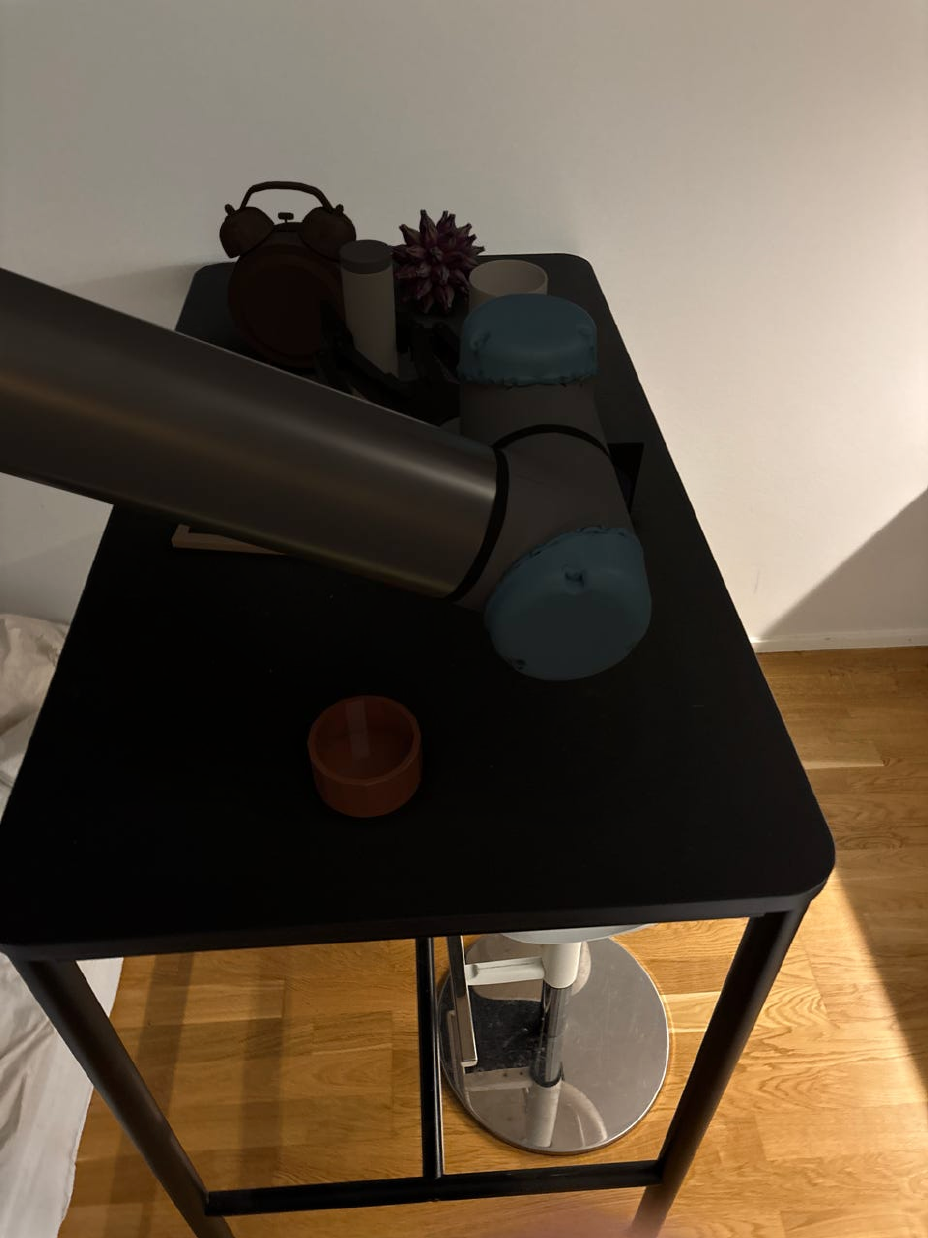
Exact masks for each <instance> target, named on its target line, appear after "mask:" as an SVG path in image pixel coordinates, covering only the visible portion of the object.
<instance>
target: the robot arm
mask: <svg viewBox="0 0 928 1238" xmlns="http://www.w3.org/2000/svg"><path fill="white" fill-rule="evenodd" d="M319 308H320V316H321V325H322V328H321V341H322V348H321V349H316V350H314V352H313V356H314V364H315V367H314V373H315V379H316V380H315V381H314V380H312V379H308V378H306V377H303V376H300V375H297V374H295V373H291V372H289V371H287V370H284V369H280V368H279V367H276V366H272V365H271V366H270V365H267V364H265V363H266V362H262V361H259V360H256V359H254V358H251V357H249V356H246V355H243V354H240V353H237V352H235V351H232V350H229V349H226V348H224V347H220V346H218V345H215V344H212V343H210V342H206V341H204V340H201V339H199V338H196V337H193V336H191V335H188V334H186V333H182V332H180V331H177V330H175V329H171V328H169V327H167V326H163V325H160V324H158V323H155V322H152V321H151V320H148V319H144V318H142V317H139V316H136V315H133V314H130V313H127V312H125V311H123V310H119V309H116V308H114V307H111V306H109V305H107V304H106V305H105V304H103V303H101V302H98V301H95V300H92V299H89V298H87V297H84V296H82V295H78V294H76V293H73V292H70V291H68V290H65V289H62V288H59V287H57V286H54V285H51V284H48V283H46V282H42V281H40V280H37V279H34V278H31V277H29V276H26V275H24V274H22V273H18V272H16V271H13V270H10V269H7V268H5V267H2V266H0V473H1V474H4V475H8V476H11V477H15V478H18V479H22V480H25V481H29V482H32V483H36V484H40V485H43V486H46V487H50V488H53V489H57V490H60V491H64V492H68V493H71V494H74V495H78V496H81V497H83V498H88V499H92V500H94V501H97V502H102V503H105V504H109V505H112V506H116V507H118V508H122V509H126V510H130V511H133V512H136V513H140V514H144V515H147V516H150V517H153V518H157V519H161V520H164V521H168V522H171V523H175V524H178V525H179V524H181V525H185V526H188V527H192V528H195V529H199V530H202V531H205V532H209V533H212V534H216V535H219V536H223V537H226V538H230V539H233V540H237V541H240V542H244V543H247V544H251V545H254V546H257V547H261V548H264V549H268V550H271V551H275V552H278V553H282V554H285V555H284V556H288V557H293V558H296V559H299V560H303V561H307V562H310V563H314V564H317V565H320V566H323V567H327V568H330V569H333V570H337V571H340V572H344V573H347V574H352V575H355V576H359V577H362V578H366V579H369V580H372V581H376V582H379V583H383V584H386V585H390V586H393V587H397V588H400V589H403V590H407V591H411V592H414V593H417V594H421V595H424V596H428V597H431V598H434V599H437V600H440V601H444V602H447V603H450V604H453V605H456V606H459V607H463V608H466V609H469V610H473V611H476V612H480V613H482V614H483V625H484V628H485V629H487V630H488V634H489V635H490V639H491V642H492V645H493V647H494V650H495V652H496V653H497V654H498V655H499V656H500V657H501V658H502V659H503V660H504V661H505V662H506V663H508V664H509V665H511V666H512V667H513V669H514V670H515V671H518V672H519V673H521V674H522V675H525V676H528V677H530V678H535V679H539V680H544V681H552V682H553V681H573V680H579V679H583V678H584V679H585V678H587V677H588V678H589V677H591V676H594V675H597V674H600V673H602V672H604V671H606V670H608V669H610V668H612V667H614V666H615V665H617V664H618V663H620V662H621V661H623V660H624V659H625V658H626V657H627V656H628V655H629V654H630V653H631V652H632V651H633V649H635V648H636V647H637V646H638V644H639V643H640V641H641V640H642V639H643V637H644V635H645V634H646V632H647V630H648V627H649V625H650V621H651V616H652V604H653V603H652V597H651V591H650V585H649V581H648V576H647V571H646V566H645V560H644V559H645V558H644V556H645V554H644V549H643V547H642V545H641V542H640V539H639V537H638V536H637V535H636V531H635V528H634V525H633V522H632V520H631V518H630V517H631V515H630V516H629V513H628V510H627V507H626V504H625V501H624V498H623V495H622V492H621V489H620V486H619V483H618V480H617V477H616V474H615V471H614V468H613V463H612V459H611V456H610V453H609V450H608V446H607V443H608V442H607V440H606V437H605V433H604V430H603V427H602V426H603V425H602V424H601V420H600V418H599V414H598V411H597V408H596V404H595V381H596V377H597V374H598V373H599V370H600V364H599V363H598V361H597V359H598V358H597V355H598V329H597V327H596V323H595V322H594V319H593V318H592V317H591V315H590V314H589V313H588V312H587V311H586V310H585V309H584V308H582V307H581V306H579V305H578V304H576V303H575V302H571V301H570V300H568V299H565V298H562V297H559V296H556V295H551V294H547V295H546V294H538V293H529V294H510V295H505V296H500V297H497V298H494V299H491V300H489V301H486V302H484V303H482V304H481V305H479V306H478V307H476V308H475V309H474V310H473V311H472V312H471V313H470V314H469V313H468V315H467V316H466V317H465V319H464V321H463V323H462V325H461V330H460V337H459V336H458V335H457V333H455V331H453V329H452V328H451V327H450V326H449V325H448V324H447V323H446V322H443V321H438V322H435V323H433V324H432V327H425V326H424V324H422V323H419V322H417V320H415V318H414V317H413V316H412V315H411V313H410V312H409V311H407V310H400V311H398V309H397V308H396V307H395V322H396V340H397V353H398V354H399V355H403V354H408V353H410V356H409V357H410V363H412V364H413V366H414V369H415V372H416V375H417V378H416V379H413V380H407V381H403V380H401V379H398V378H397V377H396V376H394V375H393V374H392V373H391V372H388V373H384V372H383V371H382V370H380V369H379V368H378V367H377V366H376V365H374V364H373V363H372V362H371V361H370V360H368V359H367V358H366V357H365V356H363V355H362V354H361V353H360V352H359V351H357V350H356V349H355V348H354V347H353V336H352V333H351V332H350V330H349V329H348V328H347V326H346V325H345V323H344V322H343V320H342V319H341V318H340V316H339V315H338V313H337V312H336V311H335V309H334V308H333V306H332V305H331V303H330V302H329V301H328V299H324V300H319ZM437 360H438V361H440V362H438V361H437ZM440 363H441V364H442V365H443V366H444V367H445V368H446V369H447V371H449V373H450V374H451V375H452V376H453V377H454V378H455V380H456V381H457V382H458V383H456V382H453V381H450V380H447V377H446V376H445V374H444V372H443V369H442V367H441V364H440ZM349 385H350V386H351V387H353V388H354V389H356V390H357V391H358V392H359V393H360V394H361V395H362V396H364V397H365V398H366V399H367V400H368V401H366V400H363V399H360V398H358V397H355V396H353V391H352V389H350V387H349Z"/></svg>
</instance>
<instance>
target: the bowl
mask: <svg viewBox="0 0 928 1238" xmlns="http://www.w3.org/2000/svg"><path fill="white" fill-rule="evenodd" d="M307 737H308V738H307V740H306V746H307V750H308V756H309V761H310V766H311V771H312V776H313V781H314V785H315V788H316V789H315V790H316V791H317V793H318V795H319V797H320V798H321V800H322V801H323V802H324V803H325V804H326V805H327V806H329V807H330V808H331V809H332V810H334V811H336V812H338V813H340V814H343V815H345V816H349V817H354V818H364V819H365V818H374V817H375V818H376V817H381V816H383V815H387V814H390V813H392V812H394V811H396V810H398V809H399V808H401V807H402V806H404V805H405V804H406V803H407V802H408V801H409V800H410V799H411V798H412V797H413V796H414V795H415V793H416V791H417V790H418V789H419V786H420V783H421V780H422V776H423V764H424V763H423V762H424V761H423V743H422V733H421V730H420V726H419V724H418V721H417V718H416V716H414V715H413V713H411V712H410V710H409V709H408V708H407V707H406V706H405V705H404V704H403V703H400V702H398V701H395V700H393V699H391V698H388V697H386V696H382V695H381V696H380V695H379V696H378V695H368V694H362V695H358V696H352V697H347V698H343V699H341V700H339V701H337V702H335V703H334V704H332V705H331V706H329V707H327V708H325V709H324V710H323V711H322V712H321V713H320V714H319V716H318V717H317V719H315V721H313V723H312V724H311V727H310V730H309V733H308V736H307Z"/></svg>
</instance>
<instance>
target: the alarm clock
mask: <svg viewBox="0 0 928 1238" xmlns="http://www.w3.org/2000/svg"><path fill="white" fill-rule="evenodd" d="M268 190H269V191H270V190H283V191H284V190H285V191H286V190H287V191H297V192H302V193H305V194H308V195H312V196H313V197H315V198H316V200H318V202H319V203H320V205H321V206H316V207H314V208H312V209H311V210H309V212H308V213H307V214H305V216H304V217H303V218H302V220H301V221H293V220H295V214H294V213H293V212H286V211H280V212H278V213H277V219H278V220H281V221H284V222H280V223H275V222H274V221H273V220H272V218H271V217H270V216H269V215H268V214H267V213H266V212H265V211H263V210H262V209H261V208H259V207H256V206H252V205H248V203H249V201H250V199H251V197H252V195H253V194H255V193H259V192H262V191H268ZM247 205H248V206H247ZM344 211H345V207H344V205H343V204H342V203H338V204H337V205H336V206H335V207H333V205H332V204H331V202H330V200H329V199H328V198H327V197H326V195H325V194H324V192H323V191H322V190H321V189H319V188H318V187H317V186H315V185H311V184H308V183H304V182H299V181H291V180H269V181H267V180H266V181H263V182H259V183H256V184H252V185H251V186H250V187H249V188H248V189H247V191H246V192H245V194H244V196H243V198H242V201H241V203H240V205H239V207H238V208H237V209H235V208H234V206H233V205H232V204H230V203H226V204H224V212H225V213H226V214H227V215H226V216H225V217H224V220H223V222H222V223H221V226H220V228H219V233H218V237H219V241H220V244H221V247H222V248H223V251H224V253H225V254H226V256H227V257H228V259H235V258H237V259H236V261H235V264H234V266H233V269H232V272H231V275H230V277H229V280H228V285H227V292H226V293H227V294H226V296H227V297H226V298H227V304H228V305H227V307H228V310H229V314H230V316H231V320H232V322H233V324H234V326H235V327H236V329H237V331H238V332H239V334H240V335H241V337H243V339H244V340H245V341H246V343H248V345H249V346H251V347H252V348H253V349H254V350H255V351H257V352H258V353H260V355H262V356H264V357H266V358H267V362H264V363H265V364H267V365H270V366H272V365H271V364H272V363H273V362H276V363H278V364H280V365H284V366H288V367H292V368H303V369H305V368H306V369H307V368H309V369H310V368H315V364H314V356H313V352H314V350H316V349H321V348H322V341H321V328H322V325H321V316H320V308H319V300H324V299H328V301H329V302H330V303H331V305H332V306H333V308H334V309H335V311H336V312H337V313H338V315H339V316H340V318H341V319H342V320H343V322H344V323H345V325H346V315H345V305H344V294H343V284H342V273H341V263H340V249H341V248H342V247H343V246H344V245H345V244H347V243H349V242H352V241H356V240H357V237H358V236H357V230H356V227H355V225H354V223H353V220H351V218H350V217H349V216H348V214H346V213H344Z"/></svg>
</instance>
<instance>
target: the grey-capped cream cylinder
mask: <svg viewBox="0 0 928 1238" xmlns="http://www.w3.org/2000/svg"><path fill="white" fill-rule="evenodd" d="M389 245H390V244H388V243H386V242H385V241H382V240H378V239H371V238H370V239H368V238H367V239H364V238H363V239H356V241H352V242H349V243H347V244H345V245H344V246H343V247H342V248H341V249H340V263H341V273H342V284H343V294H344V305H345V315H346V326H347V328H348V329H349V330H350V332H351V333H352V336H353V347H354V348H355V349H356V350H357V351H359V352H360V353H361V354H362V355H363V356H365V357H366V358H367V359H368V360H370V361H371V362H372V363H373V364H374V365H376V366H377V367H378V368H379V369H380V370H382V371H383V372H384V373H388V372H391V373H392V374H393V375H394V376H396V377H397V378H398V379H399V360H398V358H399V357H398V351H397V340H396V322H395V308H396V307H395V306H396V305H395V289H394V286H395V285H394V280H393V271H394V269H393V260H392V251H391V247H390V246H389ZM399 380H400V379H399ZM351 387H352V386H351ZM351 390H352V394H353V396H355V397H358V398H360V399H363V400H366V401H368V400H367V399H366V398H365V397H364V396H362V395H361V394H360V393H359V392H358V391H357V390H356V389H354V388H353V387H352V388H351Z"/></svg>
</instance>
